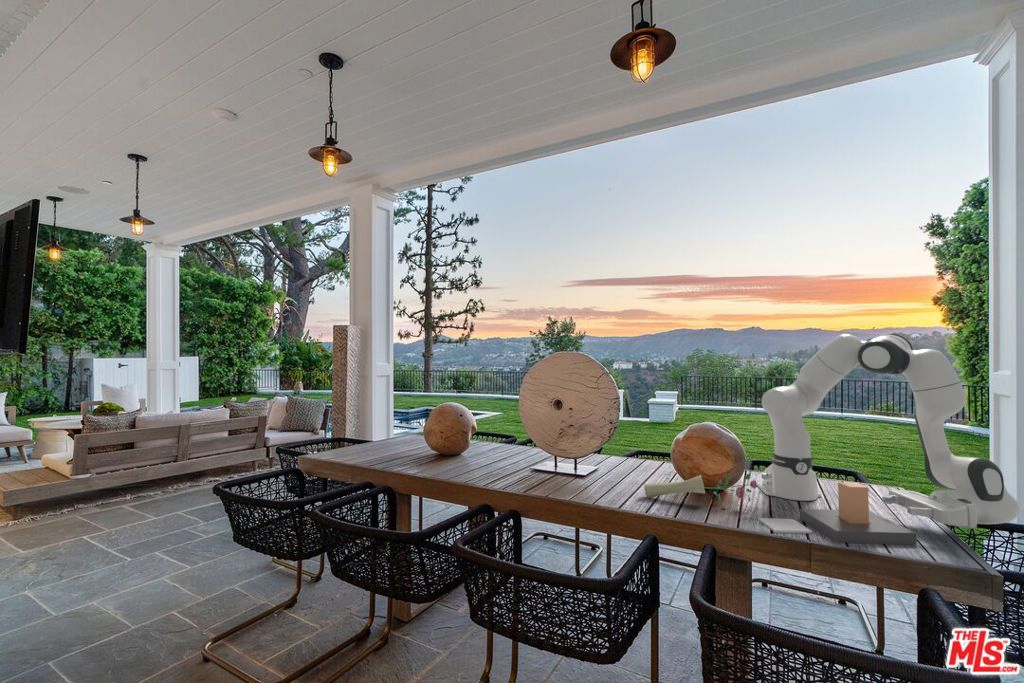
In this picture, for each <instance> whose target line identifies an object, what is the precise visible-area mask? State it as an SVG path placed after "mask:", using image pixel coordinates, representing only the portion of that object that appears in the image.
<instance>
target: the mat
mask: <svg viewBox="0 0 1024 683" xmlns="http://www.w3.org/2000/svg"><path fill="white" fill-rule="evenodd" d="M758 521H759V522H760V523H762V524H763V525H764V526H766V527H767V528H768V529H770V530H771V531H773V532H774V533H777V534H778V533H780V534H783V533H784V534H813V531H812V529H810V528H808V527H806V526H805V525H804V524H802V523H800V522H799V521H797V520H796V519H793V518H773V517H772V518H771V517H770V518H767V517H765V518H764V517H758Z"/></svg>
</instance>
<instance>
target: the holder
mask: <svg viewBox="0 0 1024 683" xmlns="http://www.w3.org/2000/svg"><path fill="white" fill-rule="evenodd" d="M799 520H801V521H802V522H804V523H806V524H807V525H809V526H811V527H812V528H814V529H815V530H817V531H818V532H820V533H821V534H823V535H824V536H826V537H828V538H830V539H831V540H833V541H834V542H836V543H843V544H844V543H846V544H847V543H849V544H850V543H851V544H881V545H885V544H886V545H911V544H914V545H917V532H915V531H913V530H911V529H909V528H906V527H905V526H902V525H900V524H898V523H896V522H893V521H891V520H889V519H887V518H885V517H883V516H881V515H879V514H876V513H875V512H872V511H870V510H869V524H849V523H847V522H846V521H844V520H842V519H840V518H839V509H817V508H816V509H812V508H800V509H799Z"/></svg>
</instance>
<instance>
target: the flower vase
mask: <svg viewBox="0 0 1024 683" xmlns="http://www.w3.org/2000/svg"><path fill="white" fill-rule="evenodd" d="M724 474H725V482H724V484H723V481H722V479H719V481H718V483H717V485H714V487H708V486H707V487H706V486H705V484H704V481H703V478H702V475H701V474H699V475H697V476H694V477H692V478H689V479H686V480H681V481H677V482H676V481H674V482H660V483H658V482H655V483H644V484H643V487H644V488H643V489H644V493H645V497H646V498H647V499H650V498H656V497H659V496H665V495H671V494H677V493H695V494H696V493H697V494H706V490H705V489H708V490H709V492H711V490H718V491H719V490H724V491H732V492H735V496H736V497H737V498H738V500H742V499H744V494H745V492H748V493H752V492H753V491H752V490H751V489H754V490H756V488H757V487H758V486H757V480H755V479H754V478H753V479H752V480H750V479H751V477H752V476H751V475H752V473H751V471H750V472H748V473H746V476H745V478H744V479H743V484H741V485H731V486H730V485H729V486H728V484H729V480H731V479H732V476H733V475H732V473H731V471H729V478H728V477H727V473H724ZM747 480H750V484H745V482H746V481H747ZM719 484H720V485H719ZM721 485H723V486H721ZM726 486H727V488H725V487H726ZM745 486H750V489H749V488H747V489H746V488H744V487H745ZM735 487H736V490H735V489H730V488H735ZM710 489H711V490H710ZM745 489H746V490H745ZM712 493H713V494H714V495H715V496H717V498H718V499H719V500H718V501H719V502H718V505H720V504H721V503H723V505H724V509H725V511H726V510H727V508H726V505H725V503H724V502H723V501H722V500H721V495H720V493H717V492H716V491H712ZM746 495H747V496H748V502H749V503H750V502H751V500H752V499H751V497H750V495H749V494H746Z"/></svg>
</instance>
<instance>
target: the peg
mask: <svg viewBox="0 0 1024 683" xmlns="http://www.w3.org/2000/svg"><path fill="white" fill-rule="evenodd" d="M837 491H838V492H837V493H838V510H839V518H840V519H842V520H844V521H846V522H847V523H849V524H869V511H870V509H869V508H870V507H869V504H870V503H869V487H868V486H866V485H863V484H860V483H859V482H850V481H849V482H846V481H845V482H842V481H838V483H837Z"/></svg>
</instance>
